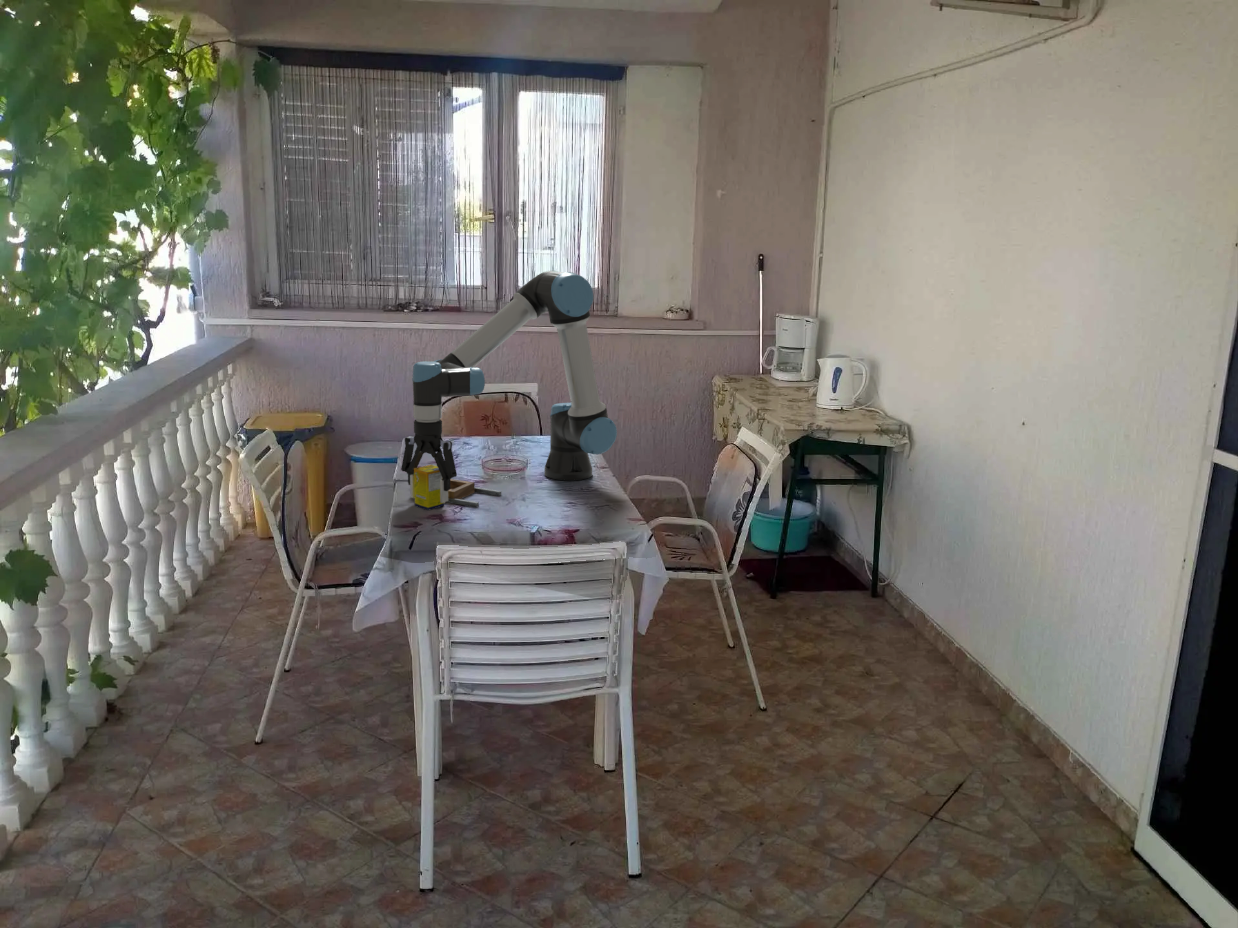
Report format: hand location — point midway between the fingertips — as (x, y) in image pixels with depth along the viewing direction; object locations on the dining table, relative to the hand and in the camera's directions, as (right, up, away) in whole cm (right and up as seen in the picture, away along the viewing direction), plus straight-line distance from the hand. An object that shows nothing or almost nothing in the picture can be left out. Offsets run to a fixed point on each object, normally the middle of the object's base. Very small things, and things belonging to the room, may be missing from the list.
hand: (429, 499), depth 257 cm
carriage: (+3, +1, +12) cm, 12 cm away
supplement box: (0, -2, +1) cm, 2 cm away
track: (+5, +1, +11) cm, 12 cm away
